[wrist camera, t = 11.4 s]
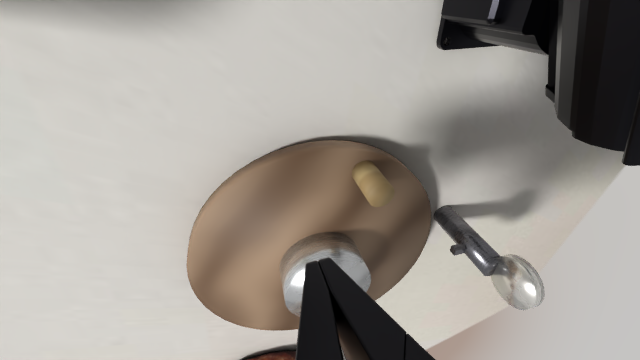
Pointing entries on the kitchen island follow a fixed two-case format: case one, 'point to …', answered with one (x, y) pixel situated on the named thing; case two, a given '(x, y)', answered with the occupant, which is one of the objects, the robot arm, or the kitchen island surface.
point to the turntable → (303, 225)
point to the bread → (276, 356)
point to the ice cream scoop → (494, 262)
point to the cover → (314, 250)
